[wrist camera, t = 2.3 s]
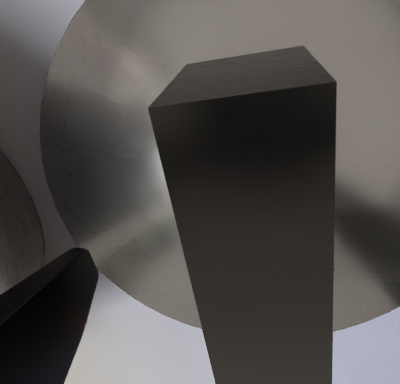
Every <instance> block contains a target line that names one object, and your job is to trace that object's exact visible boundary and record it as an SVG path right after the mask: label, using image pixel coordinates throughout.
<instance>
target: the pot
mask: <svg viewBox="0 0 400 384" xmlns="http://www.w3.org/2000/svg"><path fill="white" fill-rule="evenodd" d="M44 251H45V250H44V240H43V232H42V229H41V225H40V221H39V217H38V214H37V212H36V209H35V207H34V204H33V202H32V199H31V197H30V195H29V193H28V192H27V190H26V188H25V186H24V184H23V182H22V181H21V179H20V177H19V176H18V174H17V173H16V171H15V170H14V168H13V167H12V166H11V164H10V163H9V161H8V160H7V158H6V157H5V156H4V155H3V154H2V152H1V151H0V295H1V294H2V293H4V292H5V291H7V290H8V289H10V288H11V287H13V286H14V285H16V284H18V283H19V282H21V281H22V280H24V279H25V278H27V277H28V276H30V275H31V274H33V273H34V272H36V271H38V270H39V269H41V268H42V267H43V265H44Z"/></svg>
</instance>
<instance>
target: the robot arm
mask: <svg viewBox="0 0 400 384" xmlns="http://www.w3.org/2000/svg"><path fill="white" fill-rule="evenodd" d="M97 281H98V271H97V268H96V266H95V263H94V261H93V258H92V256H91V253H90V251H89V250H88V249H87V248H72V249H70V250H68V251H67V252H65V253H64V254H62V255H61V256H59V257H57V258H56V259H54V260H53V261H51V262H50V263H48V264H47V265H45V266H44V267H42V268H41V269H39V270H38V271H36V272H34V273H33V274H31V275H30V276H28V277H27V278H25V279H24V280H22V281H21V282H19V283H18V284H16V285H14V286H13V287H11V288H10V289H8V290H7V291H5V292H4V293H2V294H1V295H0V384H64V382H65V379H66V377H67V374H68V371H69V369H70V366H71V364H72V361H73V359H74V356H75V353H76V351H77V348H78V346H79V343H80V340H81V338H82V335H83V332H84V329H85V325H86V322H87V318H88V315H89V311H90V307H91V304H92V300H93V296H94V293H95V289H96V285H97Z"/></svg>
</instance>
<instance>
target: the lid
mask: <svg viewBox="0 0 400 384" xmlns="http://www.w3.org/2000/svg"><path fill="white" fill-rule="evenodd" d="M40 140H41V152H42V161H43V165H44V170H45V174H46V179H47V183H48V186H49V189H50V192H51V194H52V197H53V200H54V203H55V205H56V208H57V210H58V212H59V214H60V216H61V218H62V220H63V222H64V224H65V226H66V228H67V229H68V231H69V232H70V234H71V235H72V237H73V238H74V240H75V241H76V243H77V244H78V246H79V247H80V248H87V249H88V250H89V251H90V253H91V256H92V258H93V261H94V263H95V266H96V267H97V268H98V269H99V270H100V271H101V272H102V273H103V274H104V275H105V276H106V277H107V278H108V279H109V280H111V281H112V282H113V283H114V284H116V285H117V286H118V287H119V288H121V289H122V290H123V291H125V292H126V293H127V294H129V295H130V296H132V297H133V298H135V299H136V300H138V301H140V302H141V303H143V304H144V305H146V306H148V307H150V308H152V309H153V310H155V311H157V312H159V313H161V314H163V315H165V316H168V317H170V318H172V319H175V320H177V321H180V322H182V323H185V324H188V325H191V326H194V327H198V328H201V329H202V330H203V334H204V338H205V342H206V346H207V350H208V354H209V358H210V362H211V366H212V370H213V374H214V379H215V383H216V384H332V341H333V331H337V330H341V329H345V328H348V327H351V326H354V325H357V324H360V323H364V322H367V321H369V320H371V319H374V318H376V317H378V316H381V315H383V314H385V313H388V312H390V311H392V310H394V309H395V308H397V307H399V306H400V0H86V1H85V2H84V3H83V5H82V6H81V8H80V9H79V10H78V12H77V13H76V14H75V16H74V17H73V18H72V20H71V22H70V24H69V26H68V28H67V30H66V31H65V33H64V35H63V37H62V39H61V41H60V43H59V45H58V47H57V49H56V52H55V55H54V58H53V60H52V63H51V66H50V69H49V72H48V75H47V78H46V83H45V88H44V94H43V99H42V104H41V120H40Z"/></svg>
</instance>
